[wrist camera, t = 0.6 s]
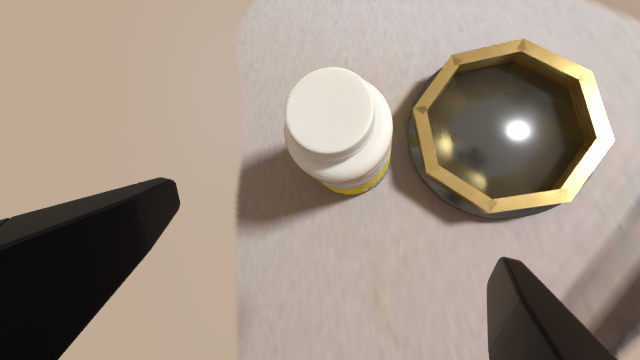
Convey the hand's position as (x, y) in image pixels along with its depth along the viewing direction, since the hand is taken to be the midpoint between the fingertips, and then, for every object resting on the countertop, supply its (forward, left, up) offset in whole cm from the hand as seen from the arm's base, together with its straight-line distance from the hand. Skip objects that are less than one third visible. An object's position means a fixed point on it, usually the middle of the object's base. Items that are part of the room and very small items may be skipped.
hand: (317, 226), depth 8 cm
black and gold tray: (+5, -10, -14) cm, 18 cm away
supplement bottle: (+5, 0, -15) cm, 15 cm away
